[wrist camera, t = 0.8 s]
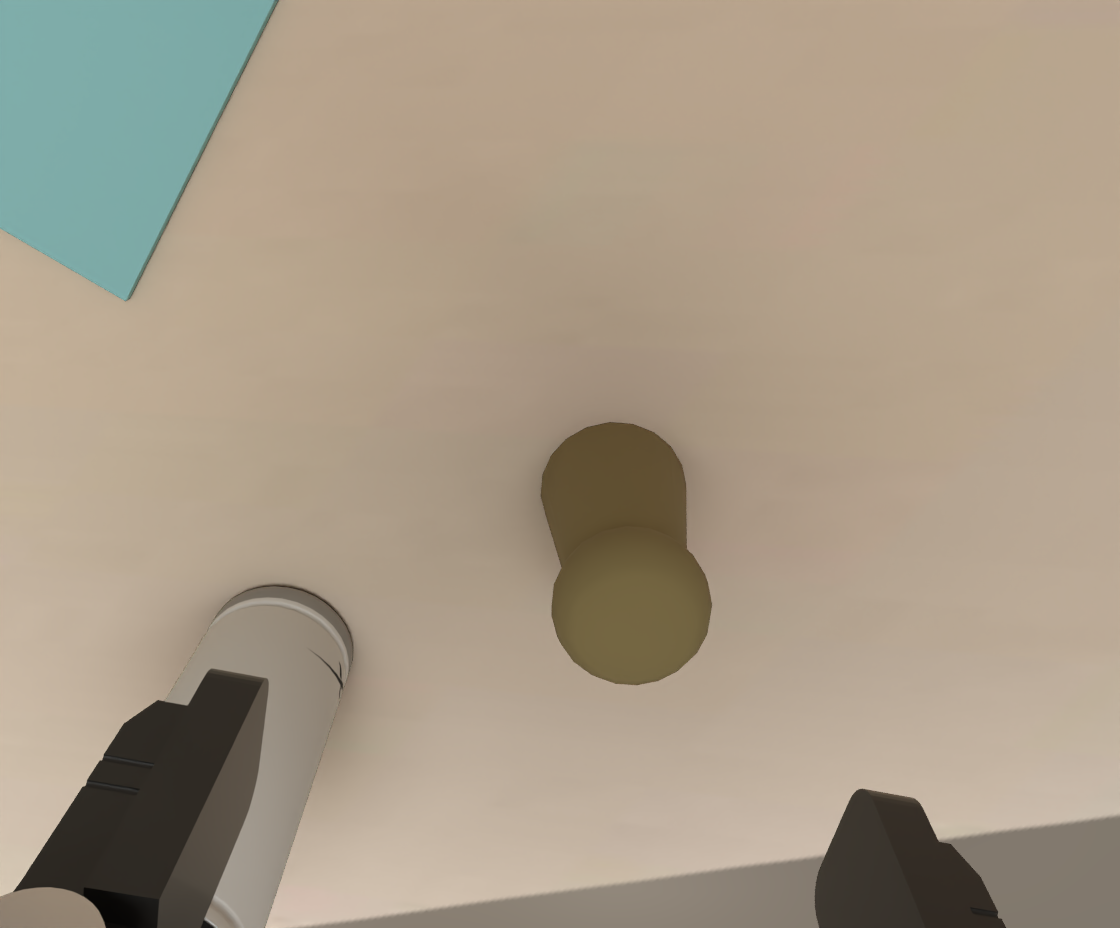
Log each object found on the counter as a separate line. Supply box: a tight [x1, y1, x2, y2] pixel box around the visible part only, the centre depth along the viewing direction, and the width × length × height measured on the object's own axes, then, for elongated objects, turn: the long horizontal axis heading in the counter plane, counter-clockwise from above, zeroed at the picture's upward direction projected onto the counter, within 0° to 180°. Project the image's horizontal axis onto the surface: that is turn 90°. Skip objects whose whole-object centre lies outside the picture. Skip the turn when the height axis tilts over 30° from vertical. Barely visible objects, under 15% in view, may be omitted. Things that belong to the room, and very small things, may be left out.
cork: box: [541, 422, 712, 685], centre depth 35 cm, size 6×6×11 cm
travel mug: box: [165, 586, 353, 928], centre depth 33 cm, size 6×7×20 cm
